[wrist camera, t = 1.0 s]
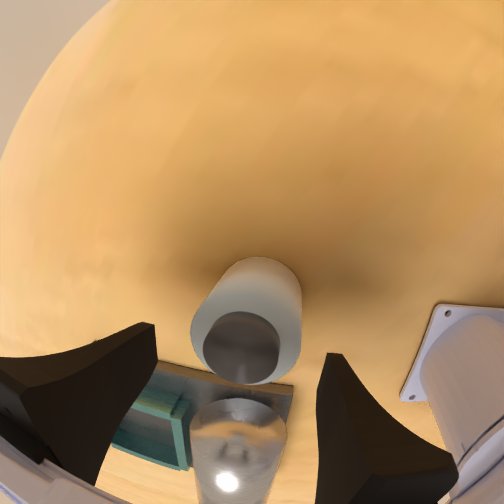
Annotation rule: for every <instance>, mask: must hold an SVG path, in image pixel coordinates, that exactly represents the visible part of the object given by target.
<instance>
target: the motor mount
mask: <svg viewBox="0 0 504 504" xmlns="http://www.w3.org/2000/svg"><path fill="white" fill-rule="evenodd" d="M94 342H96V341H94ZM92 343H93V342H92ZM292 396H293V386H289V385H281V384H273V383H264V384H257V385H246V384H237V383H233V382H230V381H227V380H225V379H223V378H221V377H220V376H218V375H216V374H215V373H210V372H205V371H200V370H196V369H191V368H187V367H183V366H178V365H174V364H170V363H166V362H163V361H159V360H158V363H157V365H156V368H155V370H154V372H153V374H152V376H151V378H150V380H149V381H148V383H147V384H146V386H145V387H144V389H143V390H142V392H141V393H140V395H139V396H138V397H137V399H136V400H135V402H134V403H133V405H132V406H131V408H130V409H129V410H128V412H127V413H126V415H125V417H124V418H123V420H122V421H121V423H120V425H119V427H118V429H117V431H116V433H115V435H114V437H113V439H112V442H111V445H112V447H114V448H116V449H119V450H121V451H124V452H126V453H129V454H131V455H134V456H136V457H139V458H142V459H145V460H147V461H150V462H153V463H156V464H159V465H162V466H165V467H168V468H172V469H175V470H178V471H180V470H185V471H188V470H189V468H190V467H193V468H194V474H195V482H196V489H197V496H198V501H199V504H266V503H267V500H268V497H269V494H270V491H271V488H272V485H273V482H274V479H275V476H276V473H277V470H278V467H279V464H280V461H281V457H282V454H283V451H284V447H285V444H286V440H287V429H286V426H285V424H286V420H287V416H288V412H289V408H290V404H291V400H292Z"/></svg>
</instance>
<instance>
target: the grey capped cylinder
mask: <svg viewBox="0 0 504 504" xmlns="http://www.w3.org/2000/svg"><path fill="white" fill-rule="evenodd" d="M301 328H302V291H301V287H300V284H299V282H298V280H297V278H296V276H295V275H294V273H293V272H292V271H291V270H290V269H289V268H288V267H286V266H285V265H284V264H282V263H281V262H279V261H276V260H274V259H271V258H267V257H258V256H257V257H249V258H245V259H242V260H240V261H237V262H236V263H234V264H233V265H231V266H230V267H229V268H228V269H227V270H226V272H225V273H224V274H223V276H222V277H221V278H220V280H219V281H218V283H217V284H216V285H215V287H214V288H213V290H212V291H211V292H210V294H209V295H208V296H207V298H206V299H205V301H204V302H203V303H202V305H201V306H200V308H199V309H198V310H197V312H196V314H195V315H194V318H193V320H192V324H191V331H190V335H191V342H192V345H193V348H194V351H195V352H196V354H197V356H198V358H199V359H200V360H201V362H202V363H203V364H204V365H205V366H206V367H207V368H208V369H209V370H211V371H212V372H213V373H215V374H216V375H218V376H220V377H221V378H223V379H225V380H227V381H230V382H233V383H237V384H246V385H257V384H264V383H268V382H272V381H274V380H276V379H279V378H280V377H282V376H284V375H285V374H286V373H287V372H289V370H290V369H291V368H292V367H293V366H294V364H295V363H296V361H297V359H298V357H299V354H300V349H301Z"/></svg>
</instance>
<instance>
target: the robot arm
mask: <svg viewBox="0 0 504 504" xmlns="http://www.w3.org/2000/svg"><path fill="white" fill-rule="evenodd" d="M447 310H449V312H448V313H447V314H446V315H445V312H446V311H447ZM157 363H158V357H157V347H156V337H155V325H154V324H149V323H145V322H140V323H137V324H135V325H133V326H130V327H128V328H126V329H124V330H121V331H119V332H117V333H115V334H113V335H110V336H108V337H106V338H103V339H101V340H98V341H96V342H93V343H91V344H88V345H86V346H83V347H80V348H76V349H73V350H69V351H66V352H61V353H56V354H51V355H45V356H37V357H24V358H12V357H0V490H1V491H2V492H3V493H4V494H6V495H7V496H8V497H9V498H10V499H11V500H12V501H14V502H15V503H16V504H132V503H129V502H127V501H125V500H122V499H120V498H118V497H115V496H113V495H111V494H109V493H107V492H104V491H102V490H100V489H98V488H96V487H94V486H95V483H96V480H97V477H98V474H99V471H100V468H101V466H102V463H103V460H104V458H105V455H106V453H107V451H108V448H109V446H110V444H111V442H112V439H113V437H114V435H115V433H116V431H117V429H118V427H119V425H120V423H121V421H122V420H123V418H124V417H125V415H126V413H127V412H128V410H129V409H130V408H131V406H132V405H133V403H134V402H135V400H136V399H137V397H138V396H139V395H140V393H141V392H142V390H143V389H144V387H145V386H146V384H147V383H148V381H149V380H150V378H151V376H152V374H153V372H154V370H155V368H156V365H157ZM411 395H413V396H411ZM399 397H400V400H401V401H402V402H416V401H428V402H429V405H430V407H431V409H432V412H433V414H434V417H435V419H436V422H437V425H438V427H439V430H440V432H441V435H442V438H443V441H444V443H445V446H446V449H447V451H445V450H443V449H441V448H438V447H436V446H434V445H432V444H430V443H429V442H427V441H425V440H424V439H422V438H420V437H419V436H417V435H416V434H414V433H413V432H411V431H410V430H408V429H407V428H406V427H404V426H403V425H402V424H401V423H399V422H398V421H397V420H396V419H394V418H393V417H392V416H391V415H390V414H389V413H388V412H387V411H386V410H385V409H384V408H383V407H382V406H381V405H380V404H379V403H378V402H377V401H376V400H375V399H374V397H373V396H372V395H371V394H370V393H369V392H368V390H367V389H366V388H365V386H364V385H363V384H362V382H361V381H360V380H359V378H358V377H357V375H356V374H355V373H354V371H353V370H352V368H351V367H350V365H349V364H348V362H347V361H346V359H345V358H344V356H343V355H342V354H337V353H327V355H326V359H325V363H324V366H323V370H322V374H321V377H320V381H319V384H318V388H317V397H316V420H317V435H318V450H319V466H318V479H317V489H316V498H315V504H438V503H437V502H438V501H439V500H440V499H441V498H442V497H443V496H444V495H446V494H447V493H448V492H449V495H450V499H449V500H448V501H447V502H446V504H504V308H492V307H478V306H464V305H452V304H439V305H437V306H436V307H435V309H434V311H433V314H432V317H431V320H430V323H429V325H428V328H427V331H426V334H425V337H424V339H423V342H422V344H421V347H420V350H419V352H418V355H417V357H416V359H415V362H414V364H413V367H412V369H411V371H410V374H409V376H408V378H407V380H406V382H405V385H404V387H403V389H402V391H401V393H400V396H399Z"/></svg>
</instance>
